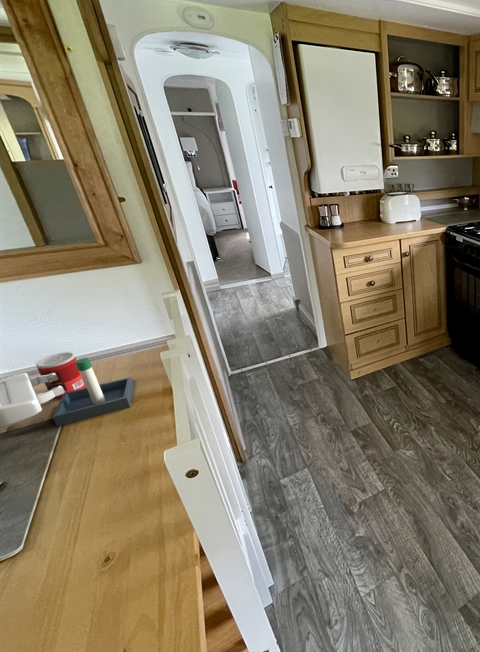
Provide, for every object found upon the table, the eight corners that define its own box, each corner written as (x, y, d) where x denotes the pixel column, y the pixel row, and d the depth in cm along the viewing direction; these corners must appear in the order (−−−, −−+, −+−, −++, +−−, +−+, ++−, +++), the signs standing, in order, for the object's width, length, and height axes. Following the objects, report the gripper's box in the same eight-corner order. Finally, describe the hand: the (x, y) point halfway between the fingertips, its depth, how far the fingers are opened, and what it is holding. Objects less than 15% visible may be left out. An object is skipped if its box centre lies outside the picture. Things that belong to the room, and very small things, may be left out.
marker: (92, 405, 105) (73, 364, 100) (93, 400, 107) (76, 359, 102) (104, 402, 106) (87, 361, 101) (106, 397, 108) (89, 356, 103)
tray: (57, 426, 97) (52, 417, 96) (68, 401, 107) (63, 392, 106) (130, 407, 105) (126, 397, 104) (134, 385, 115) (131, 376, 114)
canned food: (88, 380, 117) (75, 349, 113) (86, 392, 111) (72, 360, 107) (53, 389, 112) (38, 357, 108) (49, 402, 106) (33, 369, 102)
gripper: (-20, 402, 95) (57, 378, 106) (-14, 437, 84) (72, 407, 94) (-32, 381, 93) (48, 359, 103) (-27, 415, 82) (62, 386, 92)
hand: (60, 382), depth 99 cm, fingers open, 8 cm apart
